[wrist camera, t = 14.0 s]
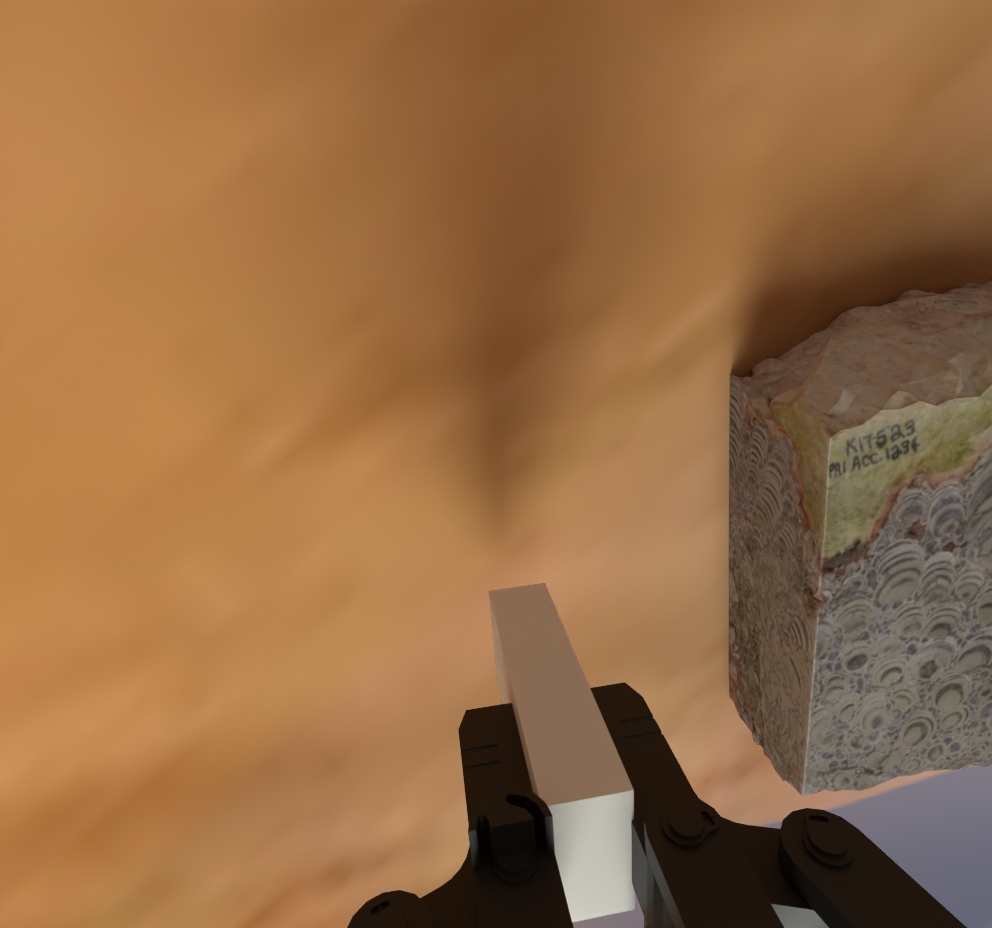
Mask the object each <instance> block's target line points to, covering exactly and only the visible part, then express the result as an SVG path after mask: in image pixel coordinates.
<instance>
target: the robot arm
mask: <svg viewBox="0 0 992 928" xmlns="http://www.w3.org/2000/svg"><path fill="white" fill-rule="evenodd" d="M489 601H490V611H491V621H492V632H493V642H494V652H495V663H496V673H497V680H498V685H499V689H500V694H501V699H502V703H503V704H501V705H495V706H489V707H483V708H477V709H471V710H466V712H465V715H464V717H463V720H462V722H461V725H460V727H459V739H460V748H461V757H462V766H463V776H464V785H465V794H466V803H467V813H468V822H469V829H468V834H469V842H470V847H469V850H468V854H467V857H466V860H465V861H464V863H463V865H462V867H461V868H460V870H459V871H458V872H457V873H456V874H455V875H454V876H453V878H452V879H451V880H449V881H448V882H446V883H445V884H444V885H442V886H441V887H439V888H438V889H436V890H434V891H432V892H431V893H429V894H427V895H425V896H424V897H422V898H419V897H418V896H417V895H415V894H413V893H409V892H405V891H401V890H398V891H391V892H385V893H382V894H380V895H378V896H376V897H374V898H373V899H371V900H369V901H367V902H366V903H365V904H364V905H363V906H362V907H361V908H360V909H359V910H358V911H357V912H356V914H355V915H354V916H353V917H352V919H351V921H350V923H349V925H348V927H347V928H573V924H572V922H576V921H581V920H586V919H590V918H595V917H600V916H605V915H610V914H615V913H619V912H624V911H628V910H634V889H635V892H636V894H637V898H638V900H639V903H640V906H641V909H642V912H643V914H644V928H967V927H965V926H964V925H963V924H962V923H961V922H960V921H959V920H958V919H957V918H956V917H954V916H953V915H952V914H951V913H950V912H949V911H948V910H947V909H946V908H945V907H943V906H942V905H941V904H940V903H939V902H938V901H937V900H936V899H934V898H933V897H932V896H931V895H930V894H929V893H928V892H927V891H926V890H925V889H924V888H922V887H921V886H920V885H919V884H918V883H917V882H916V881H915V880H914V879H913V878H911V877H910V876H909V875H908V874H907V873H906V872H905V871H904V870H903V869H901V868H900V867H899V866H898V865H897V864H896V863H895V862H894V861H893V860H892V859H890V858H889V857H888V856H887V855H886V854H885V853H884V852H883V851H882V850H881V849H879V848H878V847H877V846H876V845H875V844H874V843H873V842H872V841H871V840H870V839H868V838H867V837H866V836H865V835H864V834H863V833H862V832H861V831H860V830H859V829H857V828H856V827H854V826H853V825H852V824H850V823H849V822H847V821H846V820H844V819H843V818H842V817H840V816H837V815H835V814H832V813H830V812H827V811H825V810H818V809H810V808H805V809H801V810H797V811H793V812H791V813H790V814H789V815H788V816H787V817H786V818H785V819H784V820H783V822H782V826H781V829H775V828H767V827H759V826H750V825H744V824H740V823H735V822H732V821H730V820H727V819H725V818H723V817H721V816H720V815H719V814H718V813H717V812H716V810H715V809H714V808H712V807H711V806H709V805H708V804H706V803H705V802H703V801H702V800H700V799H699V798H698V797H697V795H696V794H695V792H694V791H693V789H692V787H691V785H690V783H689V782H688V780H687V778H686V776H685V774H684V772H683V770H682V769H681V767H680V765H679V763H678V761H677V759H676V758H675V756H674V754H673V752H672V750H671V748H670V746H669V745H668V743H667V741H666V739H665V737H664V735H662V734H661V730H660V728H659V726H658V724H657V723H656V721H655V719H653V715H652V713H651V711H650V710H649V708H648V706H647V704H646V702H645V700H644V699H643V697H642V696H641V695H640V694H638V693H637V692H636V691H635V690H633V689H632V688H631V687H630V686H629V685H627V684H626V683H619V684H613V685H607V686H601V687H594V688H590V687H589V685H588V682H587V680H586V678H585V675H584V673H583V671H582V668H581V666H580V664H579V661H578V659H577V657H576V654H575V652H574V650H573V647H572V645H571V643H570V640H569V638H568V636H567V633H566V631H565V629H564V626H563V624H562V622H561V619H560V617H559V615H558V612H557V610H556V608H555V605H554V603H553V601H552V598H551V596H550V594H549V591H548V589H547V587H546V584H545V583H541V584H534V585H527V586H520V587H513V588H506V589H499V590H492V591H489Z"/></svg>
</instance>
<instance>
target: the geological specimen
mask: <svg viewBox="0 0 992 928" xmlns="http://www.w3.org/2000/svg"><path fill="white" fill-rule="evenodd" d="M729 688H730V698H731V700H732V701H733V702H734V704H735V707H736V709H737V712H738V714H739V716H740V718H741V719H742V720H743V721H744V723H745V724H746V725H747V726H748V728H749V729H750V731H751V732H752V735H753V740H754V741H755V743H756V744H757V745H761V746H762V747H763V749H764V753H765V755H766V756H767V757H768V758H769V759H770V761H771V763H772V765H773V767H774V769H775V770H776V772H777V773H778V774H779V776H780V777H781V778H782V780H783V781H785V780H786V781H787V782H788V783H789V784H791V785H792V786H793V787H794V788H795V789H796V790H797V791H798V792H799V793H800V794H801V795H802V796H803V795H808V794H813V793H817V792H820V791H824V790H829V791H839V790H854V791H860V790H864V789H868V788H872V787H874V786H876V785H879V784H881V783H884V782H886V781H888V780H891V779H893V778H895V777H898V776H909V775H916V774H919V773H922V772H925V771H933V770H944V769H945V770H964V769H965V768H967V767H968V766H970V765H971V766H978V767H982V766H991V765H992V280H990V281H988V282H985V283H984V284H983V285H982V284H977V283H967V284H966V285H964V286H963V287H962V288H957V289H952V290H948V291H946V292H944V293H943V294H936V293H934V292H924V291H922V290H917V289H910V290H907V291H905V292H903V293H901V294H900V295H899V296H898V298H897V299H896V300H895V302H892V303H887V304H884V305H881V306H879V307H874V306H857V307H855V308H852V309H850V310H847V311H845V312H843V313H841V314H839V315H838V316H837V317H836V318H835V320H834V321H833V322H832V323H831V324H830V326H829V327H827V328H826V329H824V330H822V331H819V332H816V333H814V334H812V335H811V336H810V337H808V338H807V339H806V340H804V341H803V342H801V343H800V344H798V345H797V346H795V347H793V348H792V349H790V350H789V351H787V352H786V353H784V354H783V355H781V356H779V357H778V358H776V359H775V358H766V359H764V360H763V361H761V362H760V363H758V364H756V365H755V366H753V368H752V370H751V372H750V374H749V375H748V376H746V377H739V376H735V375H730V434H729Z"/></svg>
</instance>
